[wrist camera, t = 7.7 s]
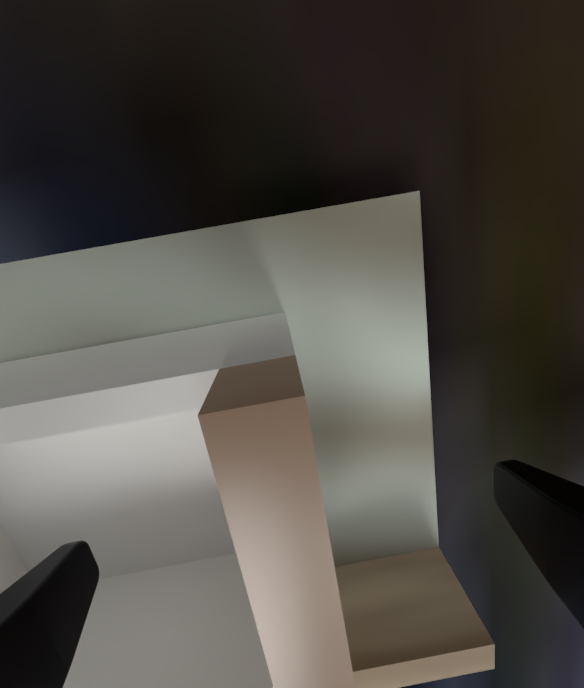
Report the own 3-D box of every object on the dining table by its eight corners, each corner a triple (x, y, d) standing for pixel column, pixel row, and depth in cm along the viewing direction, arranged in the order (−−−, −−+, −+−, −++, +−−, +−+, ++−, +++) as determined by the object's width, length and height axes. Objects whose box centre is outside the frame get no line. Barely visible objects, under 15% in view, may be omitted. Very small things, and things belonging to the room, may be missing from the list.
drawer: (324, 537, 11) (374, 799, 6) (36, 592, 11) (-189, 914, 6) (284, 311, 9) (305, 394, 3) (-77, 376, 9) (-626, 565, 3)
